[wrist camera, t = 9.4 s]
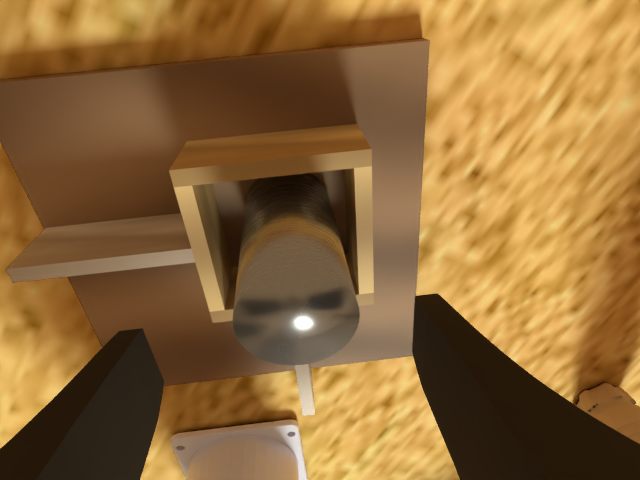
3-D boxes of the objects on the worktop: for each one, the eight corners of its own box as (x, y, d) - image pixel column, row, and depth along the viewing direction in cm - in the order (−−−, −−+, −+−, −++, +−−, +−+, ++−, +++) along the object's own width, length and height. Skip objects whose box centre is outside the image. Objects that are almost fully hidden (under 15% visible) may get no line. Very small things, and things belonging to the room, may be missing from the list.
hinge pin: (331, 238, 19) (360, 358, 13) (251, 246, 18) (243, 371, 13) (328, 163, 17) (359, 263, 11) (238, 171, 17) (221, 278, 11)
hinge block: (409, 345, 24) (429, 401, 20) (128, 379, 23) (104, 442, 20) (422, 38, 15) (460, 50, 12) (-14, 80, 15) (-95, 106, 12)
